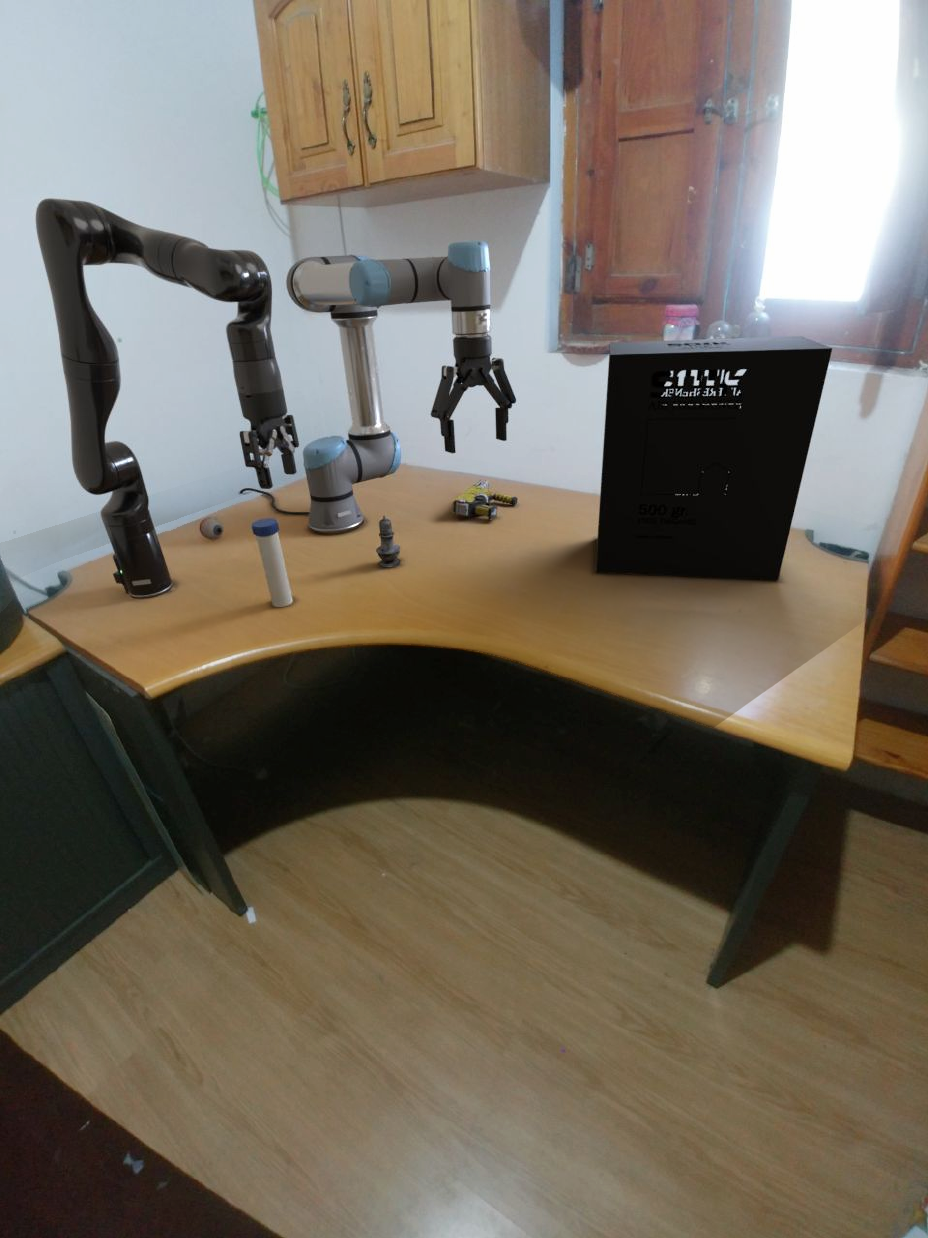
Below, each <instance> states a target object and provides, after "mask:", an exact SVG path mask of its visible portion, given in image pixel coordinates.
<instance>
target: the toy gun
mask: <svg viewBox="0 0 928 1238" xmlns="http://www.w3.org/2000/svg"><path fill="white" fill-rule="evenodd" d="M491 501H495V502H499V503H503V504H506V505H507V504H509V505H510V506H511V505H512V506H516V505H517V504H518V497H517V496H510V495H507V494H503V493H498V492H495V493H494V494H492V492H491V491H490V482H489V481H488V480H485V481H484V479H480V480H479V481H477V482H476V483H474V484H472V485H471V486H470V487H469V488H468V489H466V490H465V491H464V492H463V493H462V494H461V495H459V496H458V497H457V498H456V499H454V501H453V502H452V512H453V514H454V515H457V517H461V518H464V517H473V516H477V515H478V516H479V515H480V516H485V517H487V518H488V520H490V521H491V520H493V519H494V518H496V517H497V516H498V505H497V504H492V505H491V503H490V502H491Z"/></svg>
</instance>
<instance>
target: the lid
mask: <svg viewBox="0 0 928 1238" xmlns="http://www.w3.org/2000/svg"><path fill="white" fill-rule="evenodd" d="M251 529H252V534H253V535H254V536H255V537H256V536H269V535H272V534H275V533H277V532H278V533H279V530H280V526H279V522H278V519H276V518H273V517H271V518H270V517H267V518H260V519H257V520H254V521H253V522H251Z"/></svg>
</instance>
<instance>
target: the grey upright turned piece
mask: <svg viewBox="0 0 928 1238" xmlns="http://www.w3.org/2000/svg"><path fill="white" fill-rule="evenodd" d="M378 528H379V533H378V536H379V537H380V538H379V539H380V546H378V547H376V549H375V552H376V553H377V555H378V557H379V558H380V559H381V560H379V562H378V565H379V567H382V568H395V567H398V566H399V565H400V564H401V562H402V560H401V559H400V558H398V557H399V556H400V551H401V546H399V544H395V540H394V535H395V532H393V526H392V521H391V519H389V518H386V515H383V516H382V519H380V520H379V522H378Z"/></svg>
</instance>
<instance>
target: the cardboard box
mask: <svg viewBox="0 0 928 1238" xmlns="http://www.w3.org/2000/svg"><path fill="white" fill-rule="evenodd" d="M832 352H833V347H830V346H829V345H826V344H822V343H821V342H817V341H815V340H813V339H809V338H808V337H804V336H801V335H798V336H797V335H796V336H795V335H793V336H767V337H766V336H765V337H764V336H763V337H762V336H761V337H737V338H705V339H675V340H673V339H672V340H649V341H648V340H645V341H644V340H643V341H615V342H614V341H613V342H612V341H611V342H609V353H608V369H607V382H606V383H607V385H606V401H605V414H604V415H605V416H604V432H603V433H604V434H603V445H602V446H603V447H602V462H601V477H600V479H601V480H600V496H599V508H598V509H599V511H598V523H597V543H596V562H595V563H596V564H595V573H596V574H616V575H617V574H618V575H619V574H620V575H642V576H644V575H645V576H662V577H663V576H665V577H666V576H668V577H690V578H712V579H713V578H714V579H736V580H737V579H738V580H758V581H759V580H761V581H779V578H780V575H781V570H782V567H783V566H782V565H783V562H784V557H785V554H786V550H787V549H786V548H787V544H788V539H789V536H790V531H791V527H792V523H793V519H794V516H795V515H794V514H795V510H796V506H797V502H798V501H797V500H798V498H799V493H800V488H801V485H802V480H803V475H804V473H805V468H806V467H805V466H806V463H807V459H808V454H809V450H810V446H811V441H812V438H813V433H814V428H815V424H816V420H817V416H818V412H819V407H820V403H821V399H822V395H823V390H824V387H825V386H824V385H825V382H826V377H827V374H828V369H829V364H830V361H831V356H832ZM741 370H745V371H744V372H743V374H742V375H741V374H740V375H737V373H738V372H739V371H741ZM684 371H685V375H684V377H683V383H682V385H679V380H680V375H679V374H680V373H681V372H684ZM693 371H697V372H696V377H695V375H692V372H693ZM706 371H708V373H707V375H706ZM727 374H728V378H727V381H737V382H736V384H727V383H726V377H727ZM695 379H696V382H697V381H698V384H697V385H695ZM711 381H713V384H712V385H710V384H709V385H708V382H711ZM667 383H671V384H670V385H666V384H667Z"/></svg>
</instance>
